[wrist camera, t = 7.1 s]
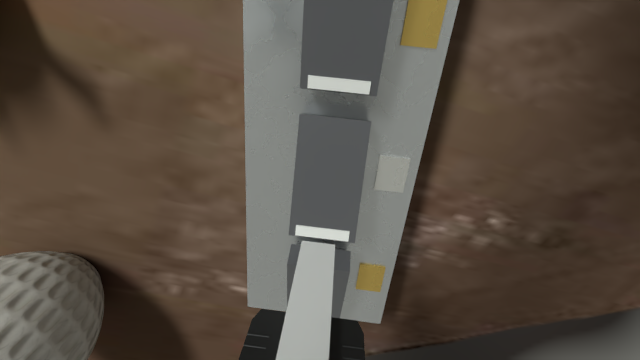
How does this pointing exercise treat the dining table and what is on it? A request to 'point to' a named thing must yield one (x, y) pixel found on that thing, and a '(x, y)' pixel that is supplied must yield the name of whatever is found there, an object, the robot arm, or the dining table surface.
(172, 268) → the dining table surface
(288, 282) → the switch
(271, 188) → the console
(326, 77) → the switch
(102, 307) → the vase
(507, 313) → the dining table surface
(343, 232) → the switch
